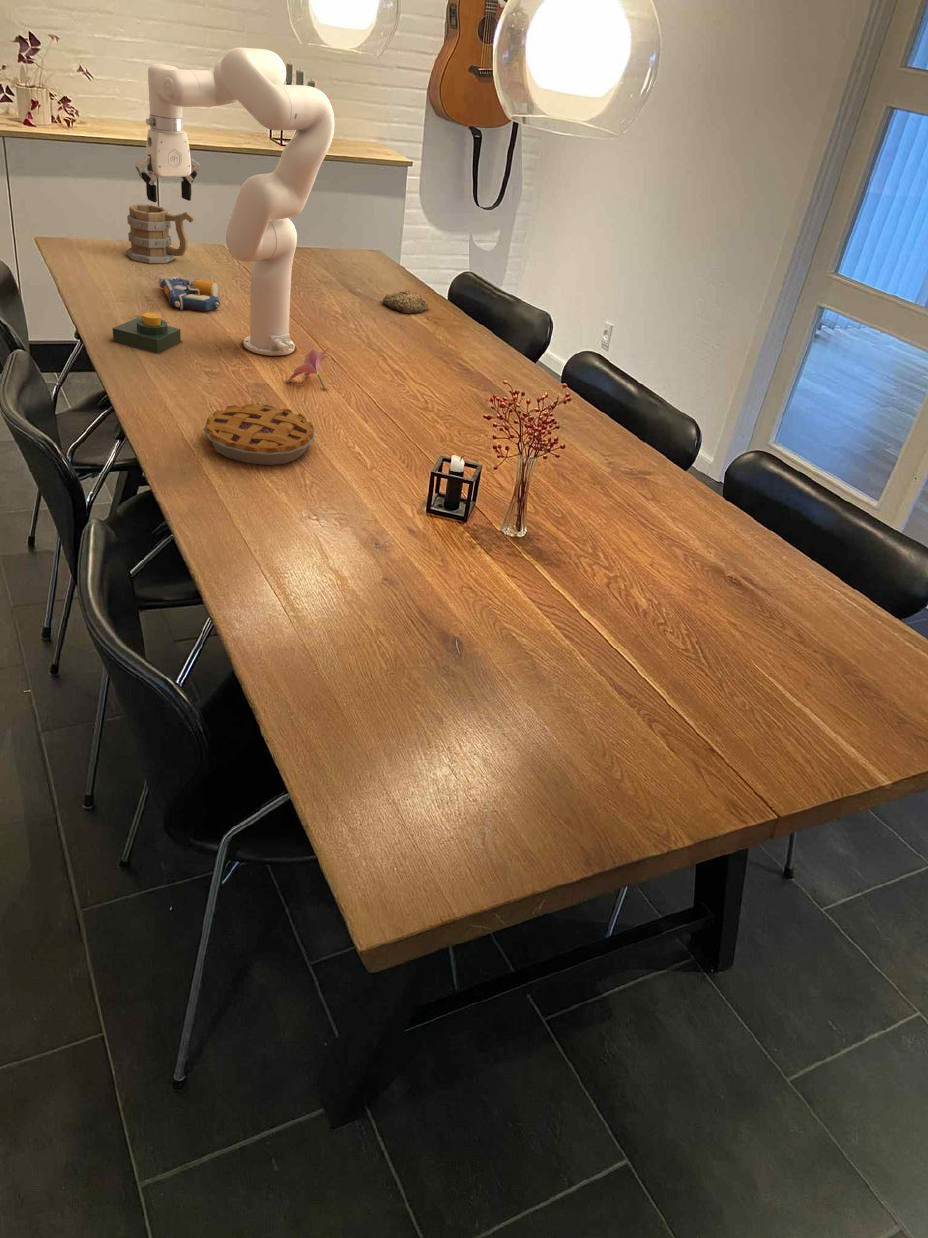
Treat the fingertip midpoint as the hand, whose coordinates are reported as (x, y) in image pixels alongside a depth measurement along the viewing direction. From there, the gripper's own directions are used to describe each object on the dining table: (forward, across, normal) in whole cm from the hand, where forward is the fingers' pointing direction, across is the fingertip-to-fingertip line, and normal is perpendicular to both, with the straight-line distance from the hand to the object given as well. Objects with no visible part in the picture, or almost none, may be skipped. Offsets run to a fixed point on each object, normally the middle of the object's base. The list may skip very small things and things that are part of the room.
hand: (169, 199), depth 232 cm
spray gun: (+27, +8, +3) cm, 28 cm away
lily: (+28, -1, -58) cm, 65 cm away
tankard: (+27, +21, +39) cm, 52 cm away
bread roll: (+27, +64, -24) cm, 74 cm away
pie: (+28, -31, -79) cm, 89 cm away
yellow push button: (+22, -19, -21) cm, 36 cm away
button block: (+27, -20, -20) cm, 39 cm away
